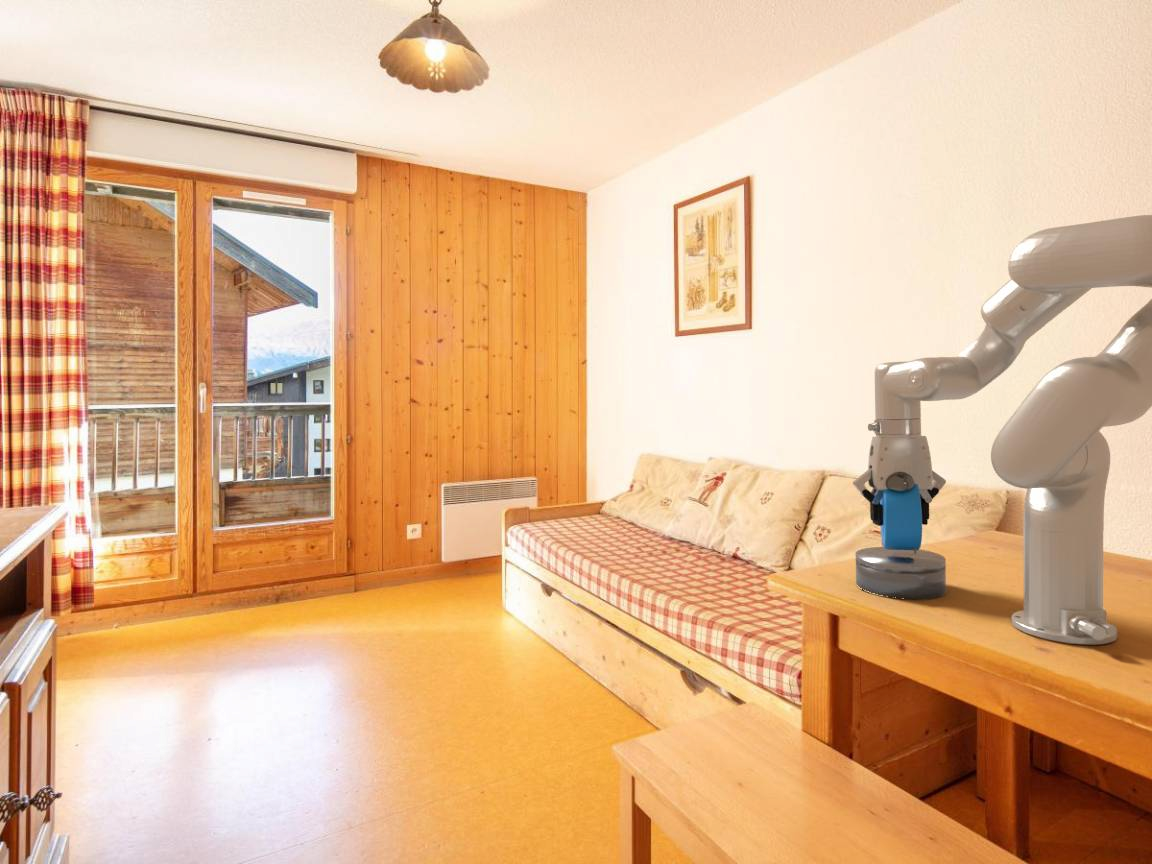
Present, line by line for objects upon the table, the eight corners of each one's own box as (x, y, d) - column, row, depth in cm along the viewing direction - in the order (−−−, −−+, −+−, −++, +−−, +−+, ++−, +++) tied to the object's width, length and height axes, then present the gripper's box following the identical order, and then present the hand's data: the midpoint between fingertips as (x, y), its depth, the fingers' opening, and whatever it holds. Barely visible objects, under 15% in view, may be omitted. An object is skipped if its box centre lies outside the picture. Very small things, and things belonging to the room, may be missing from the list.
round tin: (962, 599, 112) (962, 565, 112) (874, 600, 114) (873, 566, 113) (922, 576, 127) (922, 546, 127) (844, 577, 128) (844, 547, 128)
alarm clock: (923, 558, 113) (920, 472, 113) (884, 556, 115) (882, 473, 115) (914, 543, 125) (911, 466, 125) (879, 542, 127) (876, 467, 127)
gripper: (857, 431, 116) (859, 529, 117) (957, 428, 115) (958, 526, 115) (842, 429, 123) (844, 521, 124) (936, 426, 122) (938, 519, 123)
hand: (899, 523), depth 120 cm, fingers closed on alarm clock, 7 cm apart
